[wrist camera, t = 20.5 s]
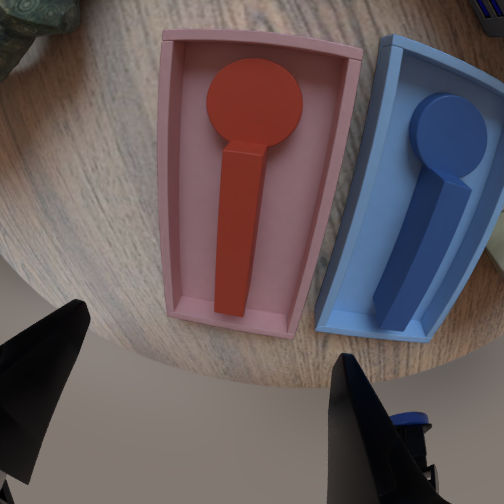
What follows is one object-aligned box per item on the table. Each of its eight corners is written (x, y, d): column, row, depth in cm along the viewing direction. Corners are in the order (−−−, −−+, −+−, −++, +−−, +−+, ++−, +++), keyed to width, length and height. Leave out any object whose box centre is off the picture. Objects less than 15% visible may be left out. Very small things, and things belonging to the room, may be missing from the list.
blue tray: (421, 322, 18) (428, 343, 16) (314, 307, 18) (314, 331, 17) (512, 95, 9) (534, 102, 8) (380, 37, 10) (393, 33, 8)
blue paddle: (417, 80, 10) (442, 85, 8) (485, 109, 10) (514, 120, 8) (353, 294, 17) (358, 327, 15) (411, 302, 16) (421, 333, 14)
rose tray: (294, 316, 19) (293, 340, 17) (176, 295, 19) (166, 316, 18) (354, 51, 10) (364, 49, 9) (179, 33, 11) (162, 29, 9)
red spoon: (216, 55, 11) (197, 53, 9) (308, 65, 11) (311, 64, 9) (204, 277, 17) (191, 308, 15) (270, 289, 17) (265, 321, 15)
